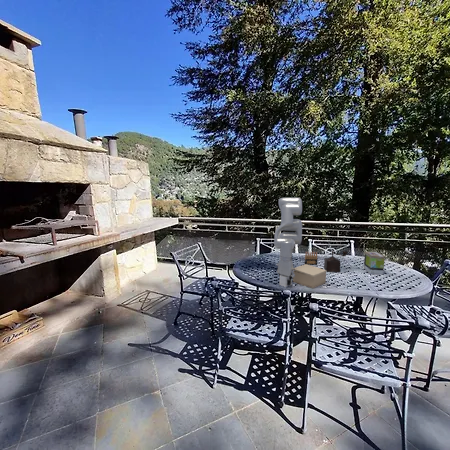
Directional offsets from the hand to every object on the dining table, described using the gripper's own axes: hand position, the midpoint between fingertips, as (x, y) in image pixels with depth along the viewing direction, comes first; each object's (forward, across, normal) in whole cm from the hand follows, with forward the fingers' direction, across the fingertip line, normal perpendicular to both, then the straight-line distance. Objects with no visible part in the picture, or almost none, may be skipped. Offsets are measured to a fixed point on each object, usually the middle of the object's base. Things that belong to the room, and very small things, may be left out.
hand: (285, 283), depth 173 cm
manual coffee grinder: (+1, +7, +57) cm, 57 cm away
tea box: (+1, +28, +78) cm, 83 cm away
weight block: (+1, 0, 0) cm, 1 cm away
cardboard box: (+1, +8, +17) cm, 19 cm away
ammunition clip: (+1, -15, +57) cm, 59 cm away
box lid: (-8, +8, +17) cm, 20 cm away
